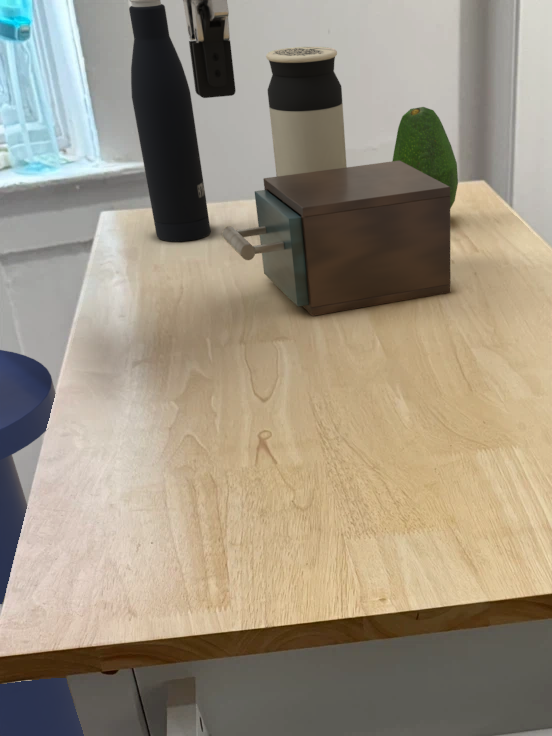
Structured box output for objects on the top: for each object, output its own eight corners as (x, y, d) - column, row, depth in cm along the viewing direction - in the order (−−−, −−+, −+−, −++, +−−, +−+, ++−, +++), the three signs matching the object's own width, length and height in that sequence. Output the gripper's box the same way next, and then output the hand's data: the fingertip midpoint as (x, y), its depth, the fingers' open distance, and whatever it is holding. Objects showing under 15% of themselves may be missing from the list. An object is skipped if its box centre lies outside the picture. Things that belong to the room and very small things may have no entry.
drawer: (254, 314, 96) (242, 225, 91) (223, 280, 104) (211, 196, 99) (427, 285, 100) (425, 199, 95) (385, 254, 109) (381, 174, 104)
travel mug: (307, 248, 114) (290, 59, 103) (269, 234, 119) (249, 52, 108) (364, 234, 118) (354, 50, 106) (325, 220, 123) (311, 43, 111)
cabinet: (312, 316, 97) (302, 207, 91) (274, 279, 106) (263, 178, 100) (450, 292, 101) (450, 186, 95) (403, 258, 110) (399, 160, 104)
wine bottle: (152, 230, 122) (94, -88, 102) (205, 223, 124) (158, -91, 104) (161, 244, 117) (102, -86, 98) (216, 237, 119) (168, -89, 99)
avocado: (389, 216, 123) (384, 102, 116) (452, 212, 124) (452, 98, 116) (396, 234, 117) (392, 115, 110) (463, 229, 118) (464, 111, 110)
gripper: (115, -181, 81) (156, 86, 93) (153, -190, 71) (193, 113, 82) (206, -182, 83) (235, 80, 95) (257, -191, 73) (282, 105, 85)
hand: (215, 94), depth 89 cm, fingers closed
